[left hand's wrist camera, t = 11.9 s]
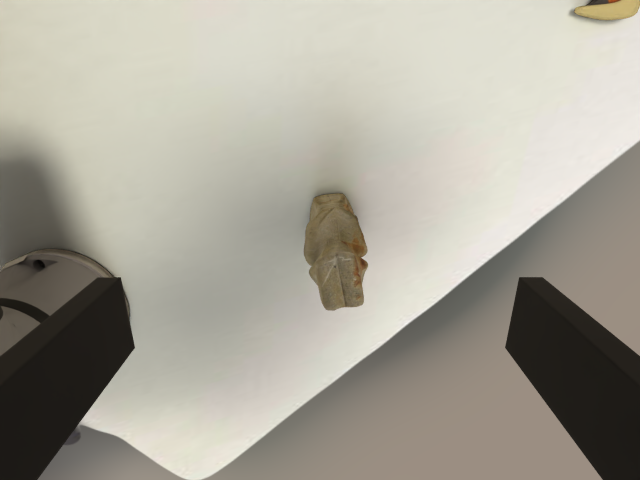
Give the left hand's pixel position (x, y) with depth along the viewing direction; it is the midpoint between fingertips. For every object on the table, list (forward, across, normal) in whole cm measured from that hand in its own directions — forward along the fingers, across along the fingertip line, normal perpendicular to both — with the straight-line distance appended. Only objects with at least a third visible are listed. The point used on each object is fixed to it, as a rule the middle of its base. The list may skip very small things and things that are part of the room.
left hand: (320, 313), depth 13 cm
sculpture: (+31, -1, +6) cm, 31 cm away
